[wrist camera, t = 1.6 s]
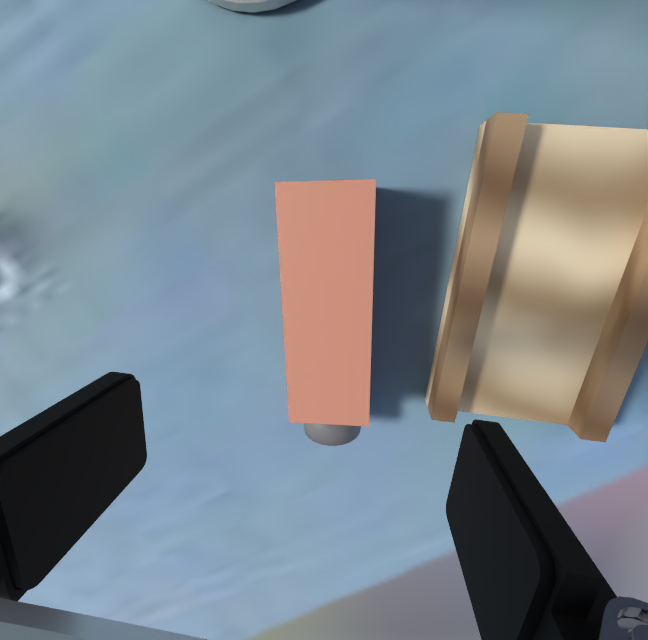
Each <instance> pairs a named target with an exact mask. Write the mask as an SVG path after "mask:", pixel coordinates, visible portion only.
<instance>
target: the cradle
mask: <svg viewBox="0 0 648 640" xmlns="http://www.w3.org/2000/svg"><path fill="white" fill-rule="evenodd" d="M528 115H529V114H519V113H500V112H497V113H496V114H494V115H493V116H492V117H491V118H489V119H488V120H487V121H485V122H484V123H483V124H481V125H480V128H479V133H478V138H477V143H476V148H475V153H474V158H473V163H472V168H471V173H470V178H469V183H468V188H467V193H466V198H465V203H464V208H463V213H462V218H461V223H460V228H459V233H458V238H457V243H456V248H455V253H454V258H453V263H452V268H451V273H450V278H449V282H448V287H447V292H446V297H445V302H444V307H443V312H442V317H441V322H440V327H439V332H438V337H437V342H436V347H435V352H434V357H433V362H432V367H431V372H430V377H429V382H428V387H427V392H426V397H425V401H426V404H427V407H428V410H429V413H430V416H431V419H432V420H438V421H446V422H454V423H455V419H456V415H457V411H462V412H470V413H478V414H485V415H493V416H501V417H509V418H517V419H525V420H533V421H541V422H548V423H556V424H564V425H568V426H569V427H570V428H571V429H572V430H573V431H574V432H575V434H576V435H577V436H578V437H579V438H580V439H584V440H592V441H600V442H606V440H607V437H608V435H609V433H610V430H611V428H612V426H613V423H614V421H615V418H616V416H617V414H618V411H619V409H620V407H621V404H622V402H623V400H624V397H625V395H626V393H627V390H628V388H629V385H630V383H631V381H632V378H633V376H634V374H635V371H636V369H637V367H638V364H639V362H640V359H641V357H642V355H643V352H644V350H645V348H646V345H647V343H648V130H647V129H629V128H611V127H593V126H575V125H557V124H539V123H527V119H528Z"/></svg>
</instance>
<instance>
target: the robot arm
mask: <svg viewBox="0 0 648 640" xmlns="http://www.w3.org/2000/svg"><path fill="white" fill-rule="evenodd" d="M207 1H209V2H210V3H212V4H215V5H218V6H221V7H224V8H227V9H229V10H232V11H243V12H260V11H267V10H273V9H277V8H279V7H282V6H284V5H287V4H289V3H292V2H294V1H296V0H207ZM146 459H147V451H146V441H145V431H144V421H143V411H142V401H141V391H140V383H139V382H138V381H137V380H136V379H135V377H134V376H133V375H132V374H126V373H119V372H109V373H107V374H106V375H104V376H102V377H100V378H99V379H97V380H95V381H94V382H92V383H90V384H89V385H87V386H85V387H83V388H82V389H80V390H78V391H77V392H75V393H73V394H72V395H70V396H68V397H66V398H65V399H63V400H61V401H60V402H58V403H56V404H55V405H53V406H51V407H50V408H48V409H46V410H44V411H43V412H41V413H39V414H38V415H36V416H34V417H33V418H31V419H29V420H27V421H26V422H24V423H22V424H21V425H19V426H17V427H16V428H14V429H12V430H10V431H9V432H7V433H5V434H4V435H2V436H0V640H207V639H202V638H197V637H192V636H188V635H183V634H178V633H173V632H168V631H163V630H158V629H153V628H148V627H143V626H138V625H133V624H128V623H124V622H119V621H114V620H109V619H104V618H99V617H94V616H89V615H84V614H79V613H74V612H69V611H63V610H58V609H53V608H48V607H43V606H38V605H33V604H28V603H23V602H18V600H19V599H20V598H21V597H22V596H23V595H24V594H25V593H26V592H27V590H29V589H32V588H34V587H35V586H37V585H38V584H39V583H40V582H41V581H42V580H43V579H44V578H45V577H46V575H47V574H48V573H49V572H50V571H51V570H52V569H53V568H54V567H55V565H56V564H57V563H58V562H59V561H60V560H61V559H62V558H63V557H64V555H65V554H66V553H67V552H68V551H69V550H70V549H71V548H72V547H73V545H74V544H75V543H76V542H77V541H78V540H79V539H80V538H81V536H82V535H83V534H84V533H85V532H86V531H87V530H88V529H89V528H90V526H91V525H92V524H93V523H94V522H95V521H96V520H97V519H98V518H99V516H100V515H101V514H102V513H103V512H104V511H105V510H106V509H107V508H108V506H109V505H110V504H111V503H112V502H113V501H114V500H115V499H116V498H117V496H118V495H119V494H120V493H121V492H122V491H123V490H124V489H125V487H126V486H127V485H128V484H129V483H130V482H131V481H132V480H133V479H134V477H135V476H136V475H137V474H138V473H139V472H140V471H141V470H142V468H143V467H144V465H145V462H146ZM446 514H447V519H448V523H449V526H450V530H451V533H452V537H453V540H454V544H455V547H456V551H457V554H458V558H459V561H460V565H461V568H462V572H463V575H464V579H465V582H466V586H467V590H468V593H469V597H470V600H471V603H472V607H473V611H474V614H475V618H476V621H477V625H478V628H479V632H480V635H481V639H482V640H648V603H646V602H643V601H640V600H637V599H635V598H629V597H617V596H616V595H615V593H614V592H613V590H612V589H611V587H610V586H609V584H608V583H607V581H606V580H605V578H604V577H603V576H602V574H601V573H600V571H599V570H598V568H597V567H596V565H595V564H594V562H593V561H592V559H591V558H590V556H589V555H588V554H587V552H586V550H585V549H584V547H583V546H582V544H581V543H580V542H579V540H578V539H577V537H576V536H575V534H574V533H573V531H572V530H571V528H570V527H569V525H568V524H567V522H566V521H565V519H564V518H563V516H562V515H561V513H560V512H559V511H558V509H557V508H556V506H555V505H554V503H553V502H552V500H551V499H550V497H549V496H548V494H547V493H546V491H545V490H544V488H543V487H542V486H541V484H540V483H539V481H538V480H537V478H536V477H535V475H534V474H533V473H532V471H531V470H530V468H529V467H528V465H527V464H526V462H525V461H524V459H523V458H522V456H521V455H520V453H519V452H518V450H517V449H516V447H515V446H514V444H513V443H512V441H511V440H510V438H509V437H508V436H507V434H506V433H505V431H504V430H503V428H502V427H501V425H500V424H499V423H497V422H490V421H483V420H474V421H473V422H472V425H471V424H467V425H466V426H465V428H464V432H463V436H462V440H461V444H460V448H459V453H458V457H457V461H456V465H455V469H454V473H453V477H452V482H451V486H450V490H449V494H448V498H447V503H446Z"/></svg>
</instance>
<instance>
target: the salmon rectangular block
mask: <svg viewBox="0 0 648 640" xmlns="http://www.w3.org/2000/svg"><path fill="white" fill-rule="evenodd" d="M275 196H276V212H277V229H278V245H279V262H280V279H281V295H282V312H283V328H284V345H285V362H286V378H287V395H288V411H289V422H295V423H304V430H305V433H306V435H307V436H308V437H309V438H310V439H311V440H312V441H314V442H316V443H319V444H322V445H328V446H336V445H343V444H346V443H349V442H351V441H352V440H354V439H355V438H356V437H357V436H358V435H359V433H360V429H361V426H369V411H370V376H371V341H372V305H373V270H374V234H375V199H376V179H364V180H332V181H300V182H275Z"/></svg>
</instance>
